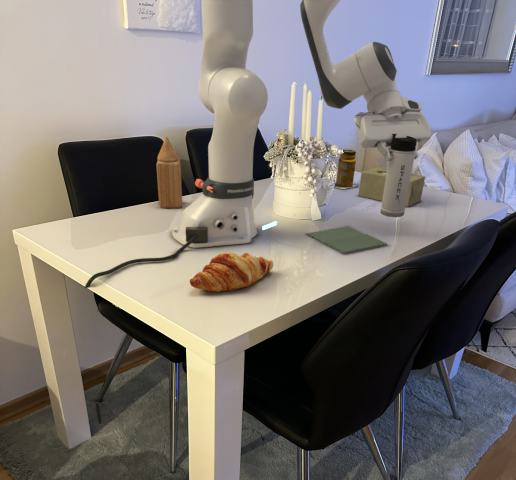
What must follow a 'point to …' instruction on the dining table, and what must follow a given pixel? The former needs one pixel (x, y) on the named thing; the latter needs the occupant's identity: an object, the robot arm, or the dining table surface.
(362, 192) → the tissue box
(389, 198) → the travel mug
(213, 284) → the croissant
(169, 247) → the dining table surface
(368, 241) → the napkin
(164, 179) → the decorative item
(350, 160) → the condiment
